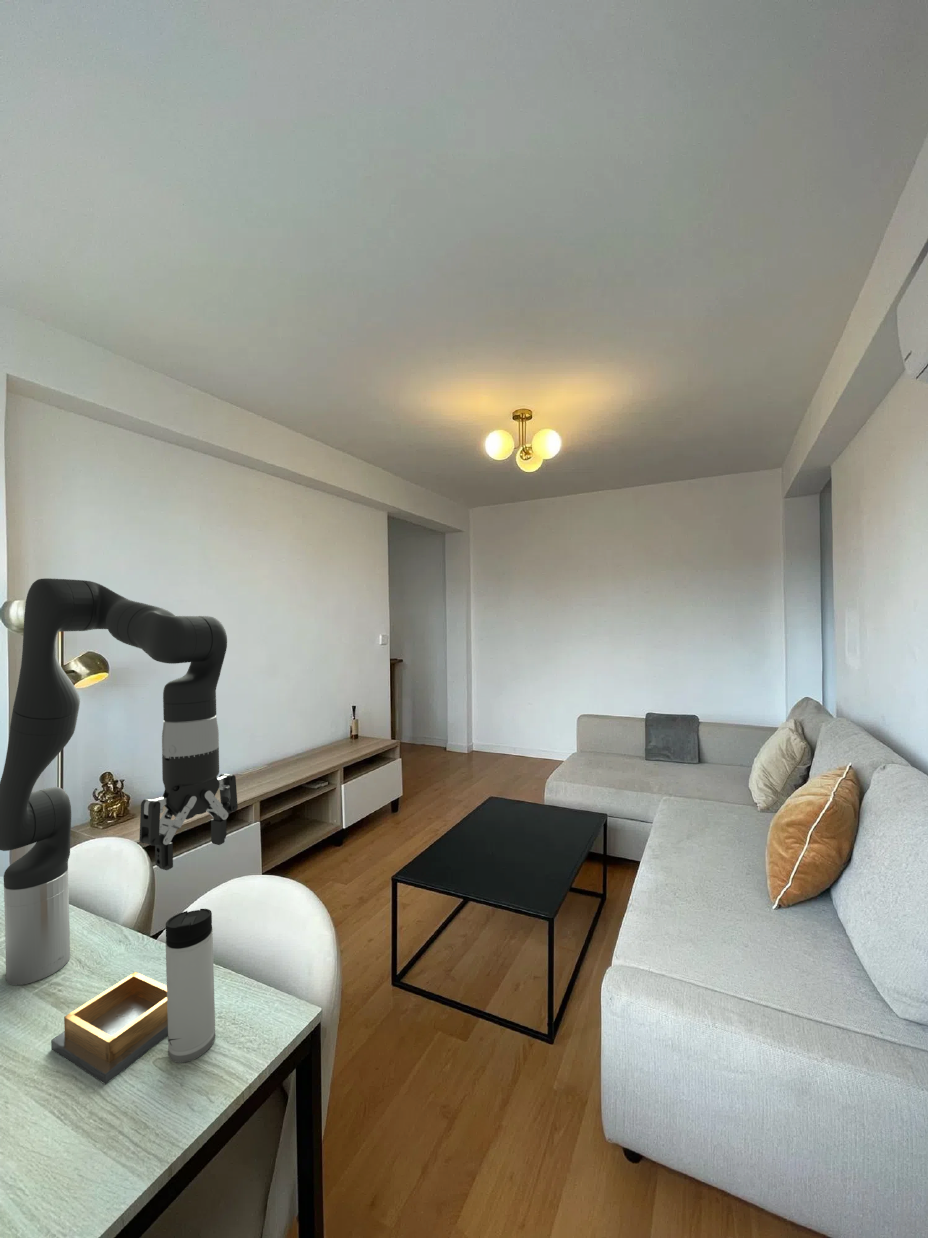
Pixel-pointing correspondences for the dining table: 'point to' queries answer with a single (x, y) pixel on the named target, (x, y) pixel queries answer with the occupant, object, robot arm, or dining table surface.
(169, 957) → the travel mug
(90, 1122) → the dining table surface
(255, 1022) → the dining table surface
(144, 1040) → the wooden tray
